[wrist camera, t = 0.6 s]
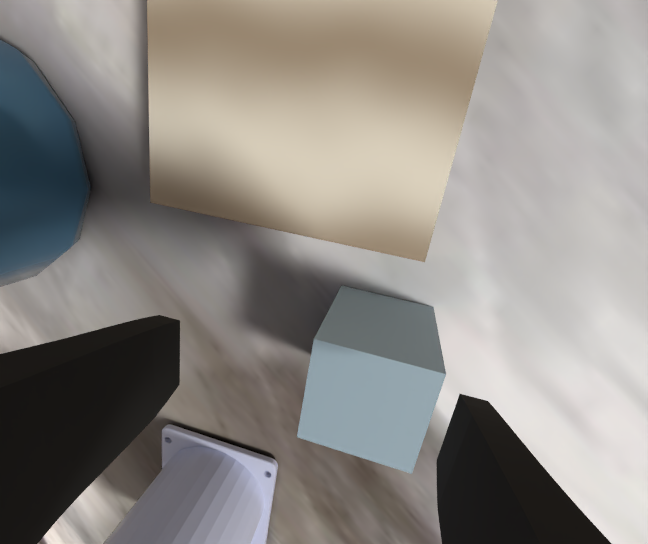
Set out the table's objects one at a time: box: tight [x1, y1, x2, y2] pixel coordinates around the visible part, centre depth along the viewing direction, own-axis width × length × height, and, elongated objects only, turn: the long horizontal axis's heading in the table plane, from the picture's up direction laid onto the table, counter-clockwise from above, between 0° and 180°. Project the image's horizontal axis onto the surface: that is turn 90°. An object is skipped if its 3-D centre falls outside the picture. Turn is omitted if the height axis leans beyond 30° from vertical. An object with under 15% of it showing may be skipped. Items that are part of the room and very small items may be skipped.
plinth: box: [147, 0, 498, 262], centre depth 13 cm, size 12×12×2 cm
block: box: [297, 286, 446, 474], centre depth 15 cm, size 4×4×6 cm
